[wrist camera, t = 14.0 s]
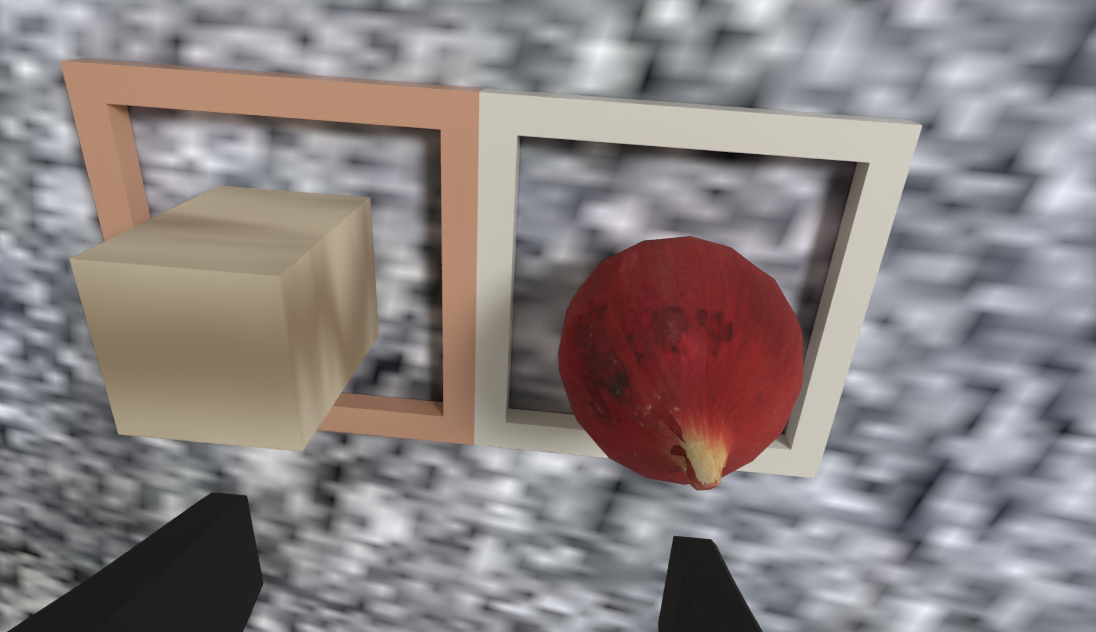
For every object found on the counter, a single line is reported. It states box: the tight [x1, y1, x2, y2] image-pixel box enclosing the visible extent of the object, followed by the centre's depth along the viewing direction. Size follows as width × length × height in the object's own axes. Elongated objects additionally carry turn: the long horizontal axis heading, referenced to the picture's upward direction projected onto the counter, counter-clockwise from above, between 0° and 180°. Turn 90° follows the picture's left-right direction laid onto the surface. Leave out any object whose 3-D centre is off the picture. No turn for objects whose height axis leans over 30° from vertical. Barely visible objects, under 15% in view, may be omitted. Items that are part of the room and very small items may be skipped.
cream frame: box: [474, 88, 922, 478], centre depth 19 cm, size 11×11×1 cm
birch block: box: [70, 186, 379, 452], centre depth 17 cm, size 4×4×6 cm
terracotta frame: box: [60, 58, 484, 445], centre depth 20 cm, size 11×11×1 cm
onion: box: [558, 236, 804, 491], centre depth 16 cm, size 6×6×8 cm
